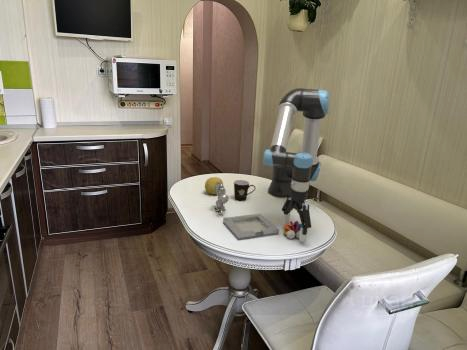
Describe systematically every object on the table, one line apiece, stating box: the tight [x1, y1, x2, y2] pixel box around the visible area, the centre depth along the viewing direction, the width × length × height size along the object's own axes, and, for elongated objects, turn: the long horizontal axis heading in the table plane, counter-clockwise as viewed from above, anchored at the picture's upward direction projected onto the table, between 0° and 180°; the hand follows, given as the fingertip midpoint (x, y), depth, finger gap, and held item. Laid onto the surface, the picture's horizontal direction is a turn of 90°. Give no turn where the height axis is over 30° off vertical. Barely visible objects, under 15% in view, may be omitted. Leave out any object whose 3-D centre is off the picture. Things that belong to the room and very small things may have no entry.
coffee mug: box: [233, 179, 256, 202], centre depth 196 cm, size 12×9×10 cm
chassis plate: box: [222, 213, 280, 241], centre depth 162 cm, size 20×18×2 cm
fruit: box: [204, 176, 224, 196], centre depth 202 cm, size 10×11×10 cm
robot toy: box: [215, 182, 229, 213], centre depth 177 cm, size 15×6×15 cm, turn 13°
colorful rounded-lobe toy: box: [283, 220, 302, 240], centre depth 158 cm, size 8×10×7 cm
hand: (293, 233), depth 158 cm, fingers open, 13 cm apart
